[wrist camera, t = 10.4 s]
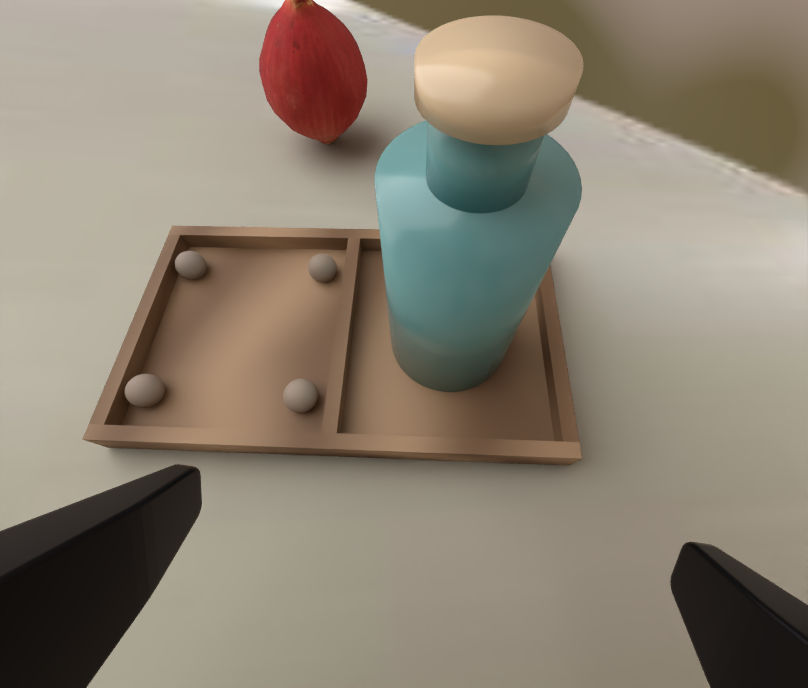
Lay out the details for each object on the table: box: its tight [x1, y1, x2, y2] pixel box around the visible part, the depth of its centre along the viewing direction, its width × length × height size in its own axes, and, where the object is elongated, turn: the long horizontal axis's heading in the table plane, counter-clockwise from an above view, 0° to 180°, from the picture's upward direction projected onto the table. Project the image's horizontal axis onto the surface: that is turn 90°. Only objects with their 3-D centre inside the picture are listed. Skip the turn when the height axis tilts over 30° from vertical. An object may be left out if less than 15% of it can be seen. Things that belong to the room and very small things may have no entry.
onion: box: [259, 0, 367, 144], centre depth 21 cm, size 6×6×8 cm
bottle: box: [375, 16, 583, 392], centre depth 13 cm, size 5×5×12 cm
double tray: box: [83, 226, 582, 465], centre depth 18 cm, size 19×11×2 cm, turn 88°
